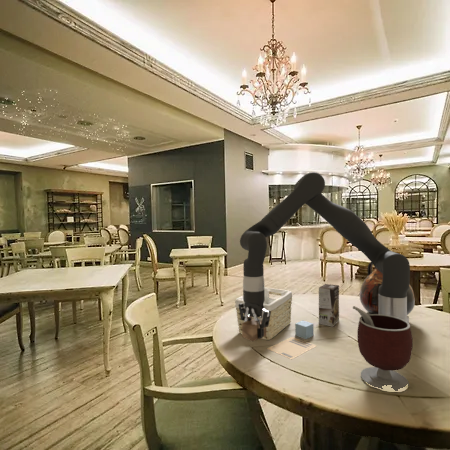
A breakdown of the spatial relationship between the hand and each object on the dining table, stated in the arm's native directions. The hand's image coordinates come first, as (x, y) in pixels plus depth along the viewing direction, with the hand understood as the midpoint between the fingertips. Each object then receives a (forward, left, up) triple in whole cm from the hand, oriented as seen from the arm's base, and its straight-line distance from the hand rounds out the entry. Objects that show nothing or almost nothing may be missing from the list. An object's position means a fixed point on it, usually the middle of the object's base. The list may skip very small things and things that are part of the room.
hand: (254, 335), depth 105 cm
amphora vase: (-19, -64, -6) cm, 67 cm away
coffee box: (-3, -44, -6) cm, 44 cm away
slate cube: (-4, -24, -6) cm, 25 cm away
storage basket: (+12, -18, -6) cm, 23 cm away
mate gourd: (-37, -14, -6) cm, 40 cm away
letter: (-7, -12, -6) cm, 15 cm away
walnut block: (0, 0, 0) cm, 0 cm away
